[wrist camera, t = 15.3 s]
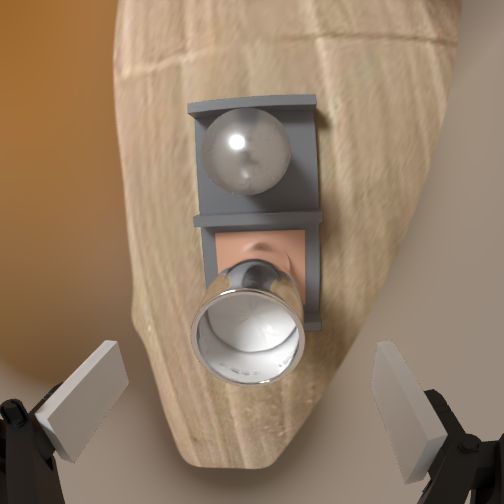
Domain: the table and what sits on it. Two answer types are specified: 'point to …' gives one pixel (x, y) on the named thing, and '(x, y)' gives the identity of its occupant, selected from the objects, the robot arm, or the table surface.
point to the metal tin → (246, 151)
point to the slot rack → (266, 199)
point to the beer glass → (251, 319)
